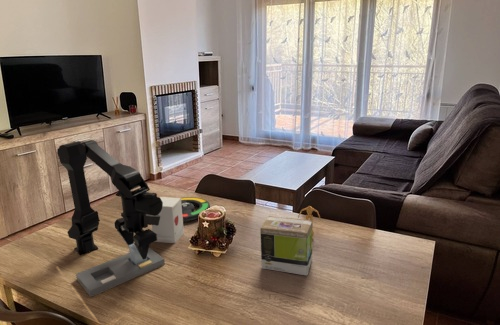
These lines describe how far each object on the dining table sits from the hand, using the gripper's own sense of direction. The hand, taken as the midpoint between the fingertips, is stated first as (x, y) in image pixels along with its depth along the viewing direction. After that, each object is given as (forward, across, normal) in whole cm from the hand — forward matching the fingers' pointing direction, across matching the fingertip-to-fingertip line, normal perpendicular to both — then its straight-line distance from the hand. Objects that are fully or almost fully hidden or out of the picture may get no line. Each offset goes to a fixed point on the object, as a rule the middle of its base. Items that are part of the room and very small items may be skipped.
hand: (138, 253), depth 118 cm
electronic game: (+5, +26, -34) cm, 43 cm away
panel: (+4, 0, +6) cm, 8 cm away
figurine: (+5, -27, -55) cm, 61 cm away
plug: (+4, 0, 0) cm, 4 cm away
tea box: (+5, -34, -35) cm, 49 cm away
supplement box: (+5, +10, -17) cm, 20 cm away
